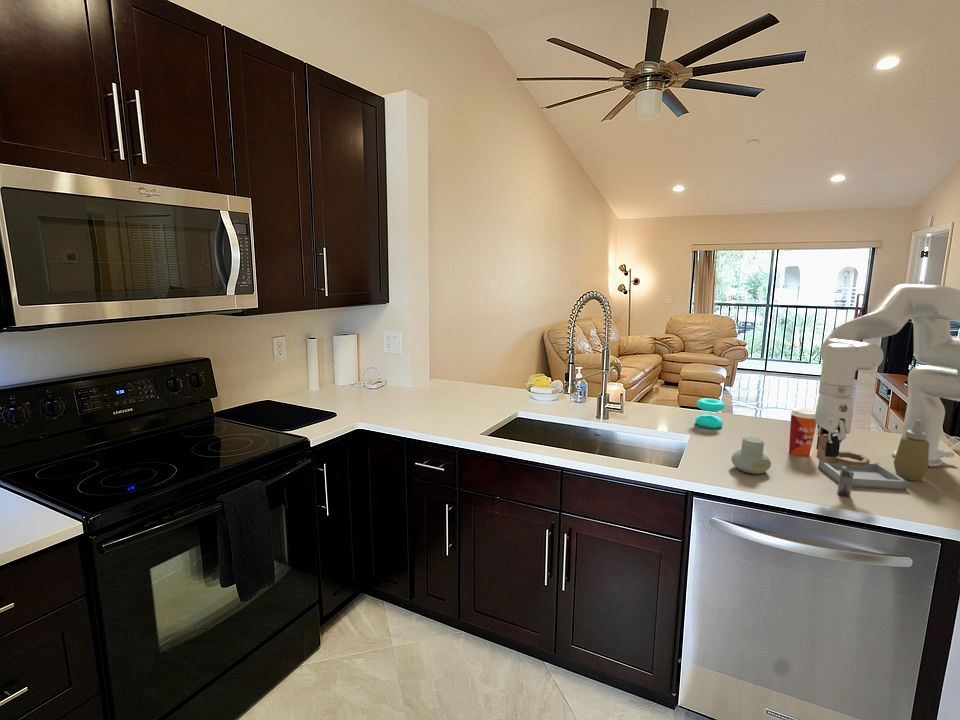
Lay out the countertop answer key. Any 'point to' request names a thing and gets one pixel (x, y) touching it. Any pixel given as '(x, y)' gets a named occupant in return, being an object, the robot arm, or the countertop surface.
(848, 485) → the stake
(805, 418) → the coffee cup
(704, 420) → the donuts
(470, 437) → the countertop surface
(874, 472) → the tray
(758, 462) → the air freshener
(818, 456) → the tabbed ring
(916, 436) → the squeeze bottle
